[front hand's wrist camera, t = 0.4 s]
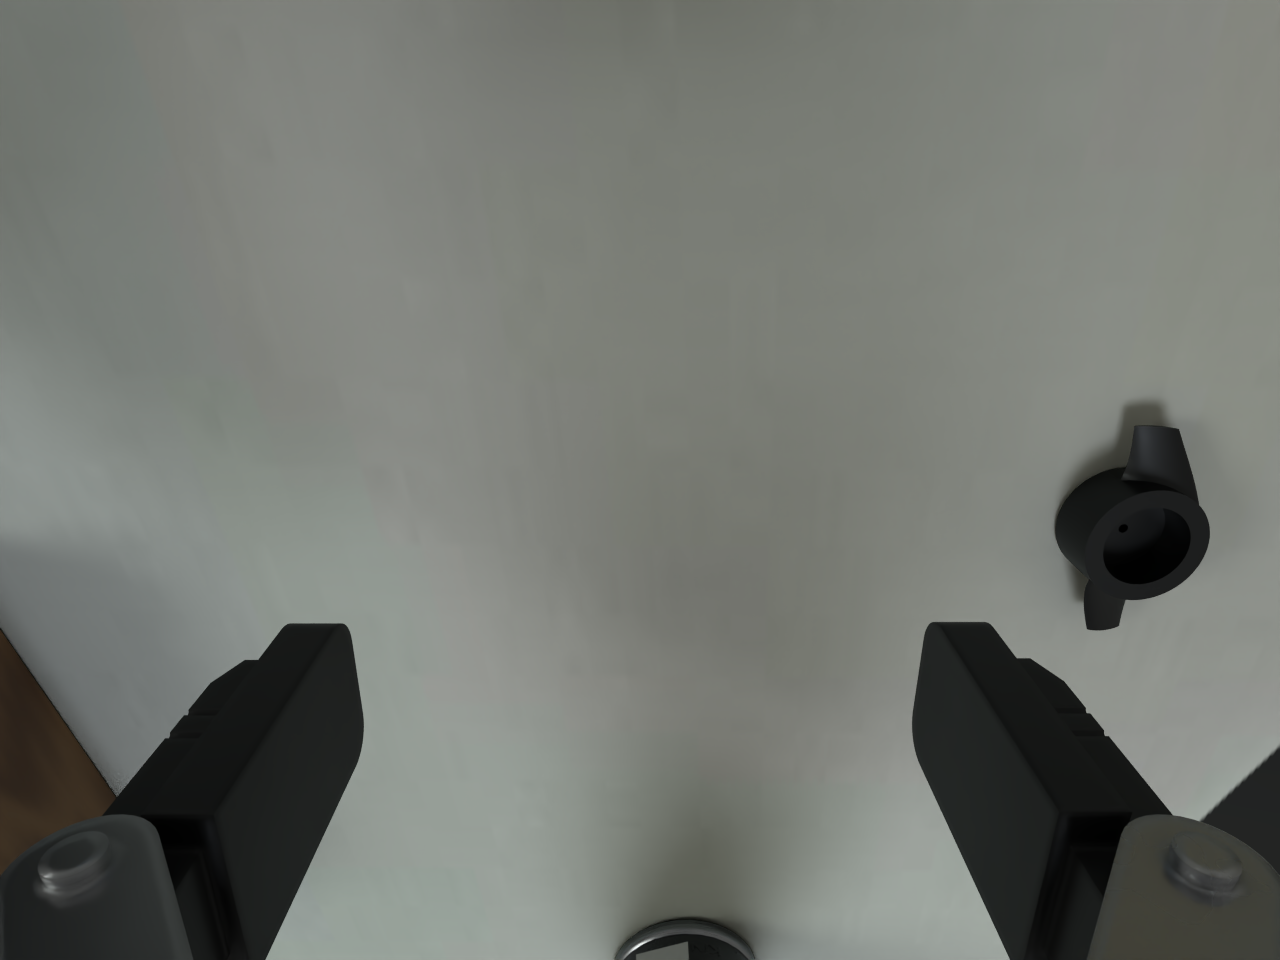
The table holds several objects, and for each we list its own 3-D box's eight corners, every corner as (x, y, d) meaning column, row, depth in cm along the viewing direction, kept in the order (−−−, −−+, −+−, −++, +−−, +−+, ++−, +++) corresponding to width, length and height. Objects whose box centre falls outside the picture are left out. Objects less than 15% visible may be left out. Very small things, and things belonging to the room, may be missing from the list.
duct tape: (989, 552, 42) (1012, 580, 39) (1138, 401, 39) (1174, 419, 36) (1091, 627, 44) (1121, 658, 41) (1242, 488, 41) (1285, 512, 38)
